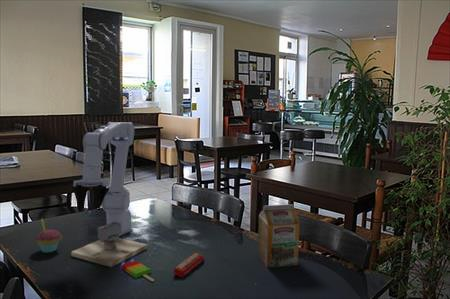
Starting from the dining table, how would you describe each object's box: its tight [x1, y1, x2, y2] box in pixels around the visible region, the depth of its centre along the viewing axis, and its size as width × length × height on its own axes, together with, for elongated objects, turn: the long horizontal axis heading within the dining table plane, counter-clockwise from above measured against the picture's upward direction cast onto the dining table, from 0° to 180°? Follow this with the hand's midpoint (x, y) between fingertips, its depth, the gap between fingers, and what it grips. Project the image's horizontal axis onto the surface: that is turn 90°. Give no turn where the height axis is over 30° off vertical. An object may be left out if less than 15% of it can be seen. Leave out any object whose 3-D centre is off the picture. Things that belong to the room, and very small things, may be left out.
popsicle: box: [121, 260, 155, 282], centre depth 128 cm, size 6×15×2 cm, turn 42°
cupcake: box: [34, 217, 63, 253], centre depth 145 cm, size 9×8×12 cm
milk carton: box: [257, 203, 300, 268], centre depth 138 cm, size 11×11×19 cm
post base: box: [71, 237, 148, 268], centre depth 144 cm, size 18×18×4 cm
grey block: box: [97, 222, 121, 242], centre depth 144 cm, size 8×6×5 cm
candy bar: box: [172, 252, 205, 278], centre depth 133 cm, size 16×4×3 cm, turn 155°
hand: (88, 208), depth 137 cm, fingers open, 7 cm apart
